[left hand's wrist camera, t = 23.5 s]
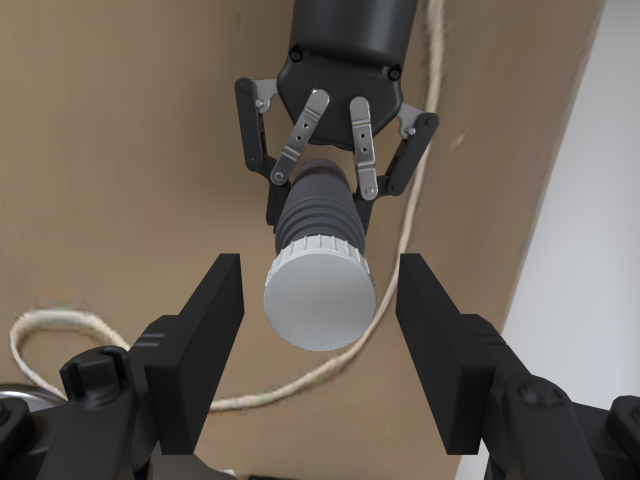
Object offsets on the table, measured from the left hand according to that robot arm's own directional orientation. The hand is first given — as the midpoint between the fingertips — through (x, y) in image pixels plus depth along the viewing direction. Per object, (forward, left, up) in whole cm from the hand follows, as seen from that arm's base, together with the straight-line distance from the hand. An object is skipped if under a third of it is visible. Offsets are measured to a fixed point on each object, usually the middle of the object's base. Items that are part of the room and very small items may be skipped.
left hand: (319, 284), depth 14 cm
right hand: (-3, 0, -13) cm, 13 cm away
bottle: (0, 0, -19) cm, 19 cm away
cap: (0, 0, +1) cm, 1 cm away
